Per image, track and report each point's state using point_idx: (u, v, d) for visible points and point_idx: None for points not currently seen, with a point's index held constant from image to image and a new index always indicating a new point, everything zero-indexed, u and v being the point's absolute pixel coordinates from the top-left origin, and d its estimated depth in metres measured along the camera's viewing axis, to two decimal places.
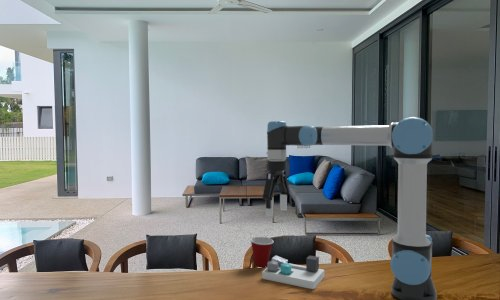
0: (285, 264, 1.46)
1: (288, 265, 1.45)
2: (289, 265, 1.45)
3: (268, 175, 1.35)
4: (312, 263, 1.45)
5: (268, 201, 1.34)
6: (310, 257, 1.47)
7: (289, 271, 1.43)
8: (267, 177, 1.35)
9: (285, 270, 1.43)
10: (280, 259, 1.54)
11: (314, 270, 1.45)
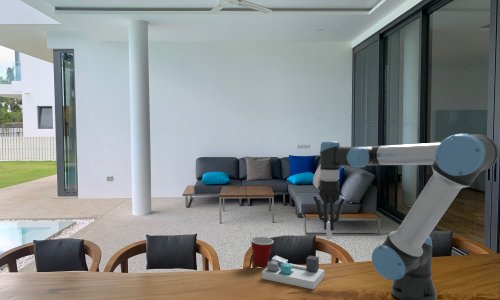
0: (285, 264, 1.46)
1: (288, 265, 1.45)
2: (289, 265, 1.45)
3: None
4: (312, 263, 1.45)
5: None
6: (310, 257, 1.47)
7: (289, 271, 1.43)
8: None
9: (285, 270, 1.43)
10: (280, 259, 1.54)
11: (314, 270, 1.45)
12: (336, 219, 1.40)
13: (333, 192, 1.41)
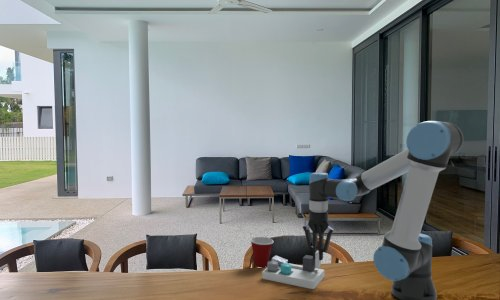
0: (285, 264, 1.46)
1: (288, 265, 1.45)
2: (289, 265, 1.45)
3: None
4: (308, 263, 1.46)
5: None
6: (306, 256, 1.48)
7: (289, 271, 1.43)
8: None
9: (285, 270, 1.43)
10: (280, 259, 1.54)
11: (310, 269, 1.45)
12: (324, 249, 1.43)
13: (322, 223, 1.43)
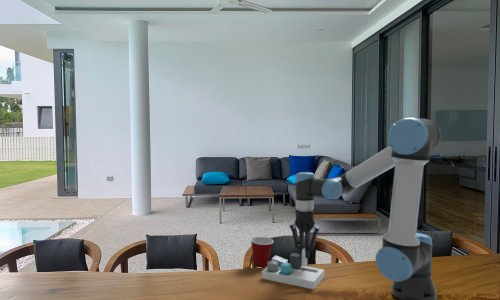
0: (285, 264, 1.46)
1: (288, 265, 1.45)
2: (289, 265, 1.45)
3: None
4: (295, 260, 1.48)
5: None
6: (293, 254, 1.51)
7: (289, 271, 1.43)
8: None
9: (285, 270, 1.43)
10: (280, 259, 1.54)
11: (297, 267, 1.48)
12: (311, 248, 1.46)
13: (308, 222, 1.46)
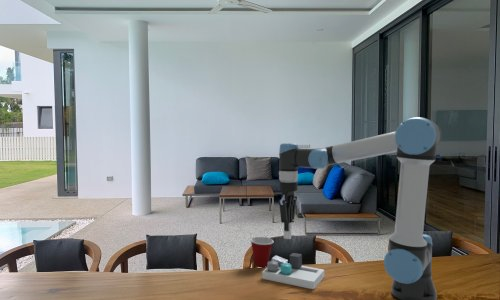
0: (285, 264, 1.46)
1: (288, 265, 1.45)
2: (289, 265, 1.45)
3: (280, 202, 1.40)
4: (295, 260, 1.48)
5: (286, 224, 1.44)
6: (293, 254, 1.51)
7: (289, 271, 1.43)
8: (280, 204, 1.40)
9: (285, 270, 1.43)
10: (280, 259, 1.54)
11: (297, 267, 1.48)
12: (293, 217, 1.47)
13: (292, 192, 1.46)
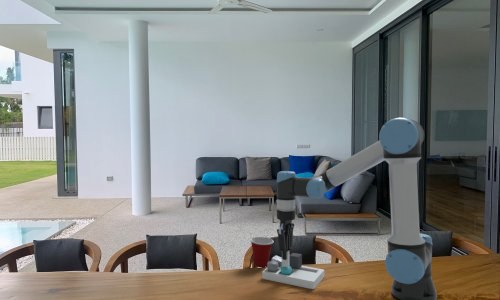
0: None
1: (288, 267, 1.45)
2: (289, 267, 1.45)
3: (278, 232, 1.39)
4: (295, 260, 1.48)
5: (284, 253, 1.43)
6: (293, 254, 1.51)
7: (289, 273, 1.43)
8: (278, 233, 1.40)
9: (285, 272, 1.43)
10: (280, 259, 1.54)
11: (297, 267, 1.48)
12: (291, 245, 1.47)
13: None
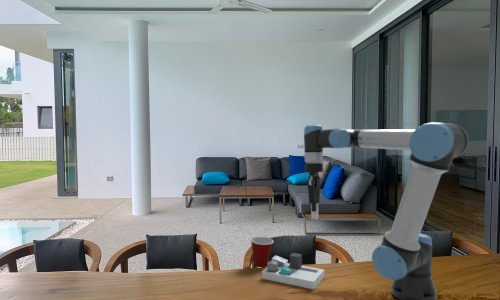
0: (285, 268, 1.46)
1: (288, 269, 1.45)
2: (289, 269, 1.45)
3: (309, 182, 1.43)
4: (295, 260, 1.48)
5: (314, 205, 1.46)
6: (293, 254, 1.51)
7: (289, 275, 1.43)
8: (308, 184, 1.43)
9: (285, 274, 1.43)
10: (280, 259, 1.54)
11: (297, 267, 1.48)
12: (319, 198, 1.50)
13: (317, 173, 1.49)
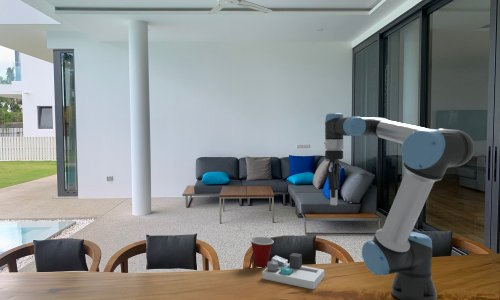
0: (285, 268, 1.46)
1: (288, 269, 1.45)
2: (289, 269, 1.45)
3: (329, 169, 1.46)
4: (295, 260, 1.48)
5: (333, 191, 1.50)
6: (293, 254, 1.51)
7: (289, 275, 1.43)
8: (328, 170, 1.47)
9: (285, 274, 1.43)
10: (280, 259, 1.54)
11: (297, 267, 1.48)
12: (338, 185, 1.54)
13: (337, 160, 1.52)
